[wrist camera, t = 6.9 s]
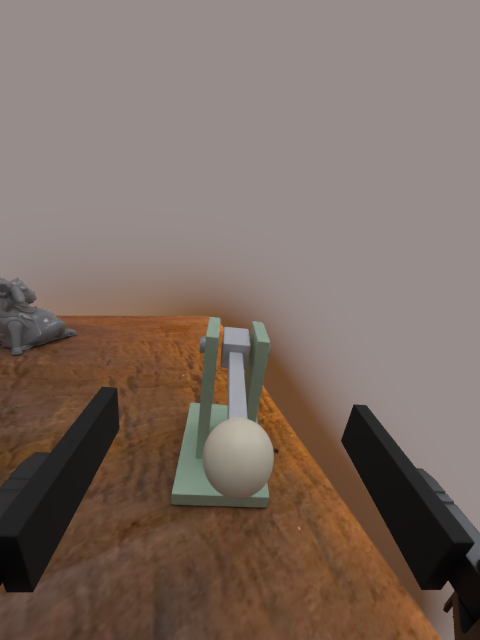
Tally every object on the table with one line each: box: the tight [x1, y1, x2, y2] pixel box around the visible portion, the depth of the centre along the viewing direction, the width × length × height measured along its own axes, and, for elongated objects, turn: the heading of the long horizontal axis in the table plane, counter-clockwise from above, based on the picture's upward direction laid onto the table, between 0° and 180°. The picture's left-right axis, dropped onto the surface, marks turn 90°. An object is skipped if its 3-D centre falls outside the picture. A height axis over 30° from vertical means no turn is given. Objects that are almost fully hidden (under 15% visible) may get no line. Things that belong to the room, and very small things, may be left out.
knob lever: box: [203, 327, 274, 499], centre depth 17 cm, size 13×4×4 cm, turn 3°
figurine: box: [0, 278, 77, 355], centre depth 40 cm, size 8×10×11 cm
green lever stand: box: [171, 317, 270, 508], centre depth 23 cm, size 11×8×14 cm
